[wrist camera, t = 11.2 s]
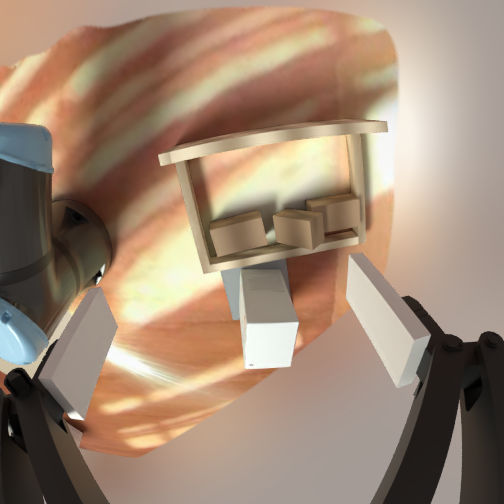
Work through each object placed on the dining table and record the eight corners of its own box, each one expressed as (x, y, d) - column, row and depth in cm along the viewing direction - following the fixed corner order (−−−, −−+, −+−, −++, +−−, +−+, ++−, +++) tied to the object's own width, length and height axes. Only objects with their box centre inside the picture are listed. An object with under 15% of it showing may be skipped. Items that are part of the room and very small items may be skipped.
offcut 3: (307, 225, 43) (314, 234, 40) (305, 199, 41) (311, 207, 38) (351, 217, 43) (360, 225, 40) (349, 192, 41) (359, 199, 38)
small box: (276, 310, 48) (291, 367, 37) (238, 311, 48) (243, 370, 36) (281, 267, 45) (300, 321, 33) (239, 267, 44) (245, 323, 32)
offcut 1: (218, 246, 43) (217, 257, 40) (210, 221, 41) (209, 230, 38) (264, 235, 43) (267, 244, 40) (258, 209, 41) (261, 217, 38)
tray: (204, 265, 44) (200, 304, 35) (174, 145, 36) (158, 154, 27) (359, 236, 44) (388, 266, 35) (351, 118, 36) (386, 121, 27)
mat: (233, 318, 49) (233, 320, 48) (220, 268, 44) (220, 269, 44) (291, 307, 49) (292, 309, 48) (285, 256, 44) (285, 257, 44)
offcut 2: (289, 234, 43) (276, 242, 41) (285, 208, 41) (272, 215, 39) (324, 240, 39) (312, 250, 37) (322, 213, 37) (309, 221, 35)
